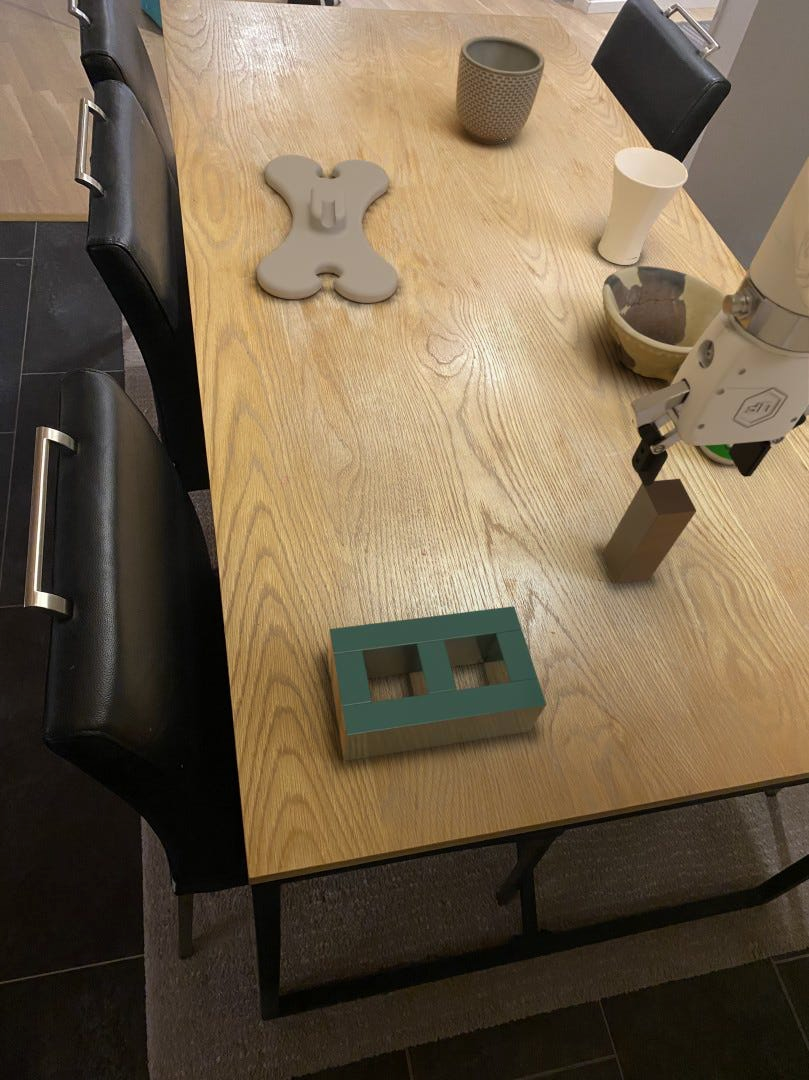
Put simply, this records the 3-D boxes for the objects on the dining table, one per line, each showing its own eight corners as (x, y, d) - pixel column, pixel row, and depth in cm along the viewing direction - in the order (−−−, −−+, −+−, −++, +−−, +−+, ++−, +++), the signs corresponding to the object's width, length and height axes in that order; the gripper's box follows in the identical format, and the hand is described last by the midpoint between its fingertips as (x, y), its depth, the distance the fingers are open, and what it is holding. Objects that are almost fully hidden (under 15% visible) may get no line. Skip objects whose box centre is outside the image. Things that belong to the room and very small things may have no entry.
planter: (531, 125, 137) (550, 46, 126) (520, 162, 129) (539, 81, 118) (456, 108, 138) (469, 28, 127) (441, 144, 129) (453, 61, 119)
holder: (255, 299, 100) (253, 266, 96) (266, 163, 120) (265, 131, 116) (398, 306, 103) (402, 275, 99) (386, 172, 122) (389, 141, 118)
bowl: (738, 383, 101) (774, 325, 93) (638, 424, 94) (668, 365, 87) (651, 305, 109) (677, 246, 101) (553, 338, 102) (574, 277, 95)
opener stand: (529, 731, 69) (546, 704, 64) (343, 761, 66) (346, 735, 61) (500, 636, 75) (514, 605, 70) (327, 659, 71) (329, 628, 66)
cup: (643, 235, 120) (678, 150, 109) (658, 276, 114) (696, 190, 103) (579, 230, 119) (607, 143, 108) (591, 271, 112) (622, 183, 102)
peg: (649, 579, 81) (697, 510, 71) (614, 584, 80) (658, 514, 70) (635, 549, 83) (680, 478, 73) (602, 552, 82) (642, 481, 72)
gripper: (702, 348, 50) (616, 510, 64) (920, 337, 54) (795, 493, 67) (658, 279, 54) (586, 445, 68) (863, 273, 58) (756, 432, 72)
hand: (690, 469), depth 68 cm, fingers open, 9 cm apart
